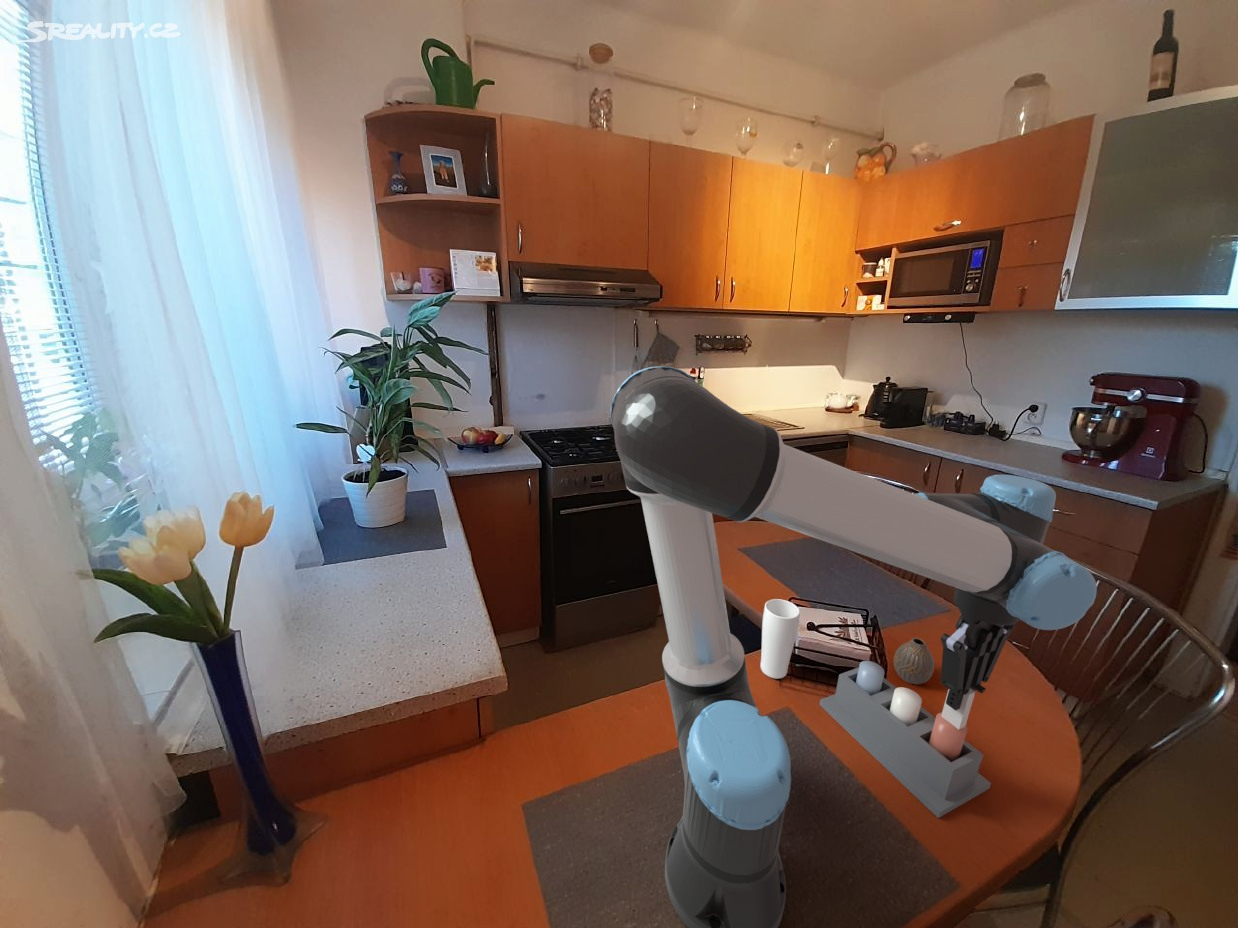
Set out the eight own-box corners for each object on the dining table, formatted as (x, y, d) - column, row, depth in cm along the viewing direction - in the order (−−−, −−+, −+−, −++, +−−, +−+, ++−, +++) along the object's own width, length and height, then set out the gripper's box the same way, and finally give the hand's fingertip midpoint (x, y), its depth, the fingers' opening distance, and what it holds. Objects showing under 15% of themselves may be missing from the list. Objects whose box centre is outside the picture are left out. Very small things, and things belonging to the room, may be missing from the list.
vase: (927, 695, 93) (937, 658, 91) (888, 679, 97) (896, 643, 94) (931, 675, 98) (941, 639, 96) (893, 660, 102) (902, 626, 100)
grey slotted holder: (938, 818, 70) (949, 782, 68) (819, 704, 90) (824, 674, 88) (989, 788, 75) (1000, 754, 73) (865, 686, 95) (871, 657, 93)
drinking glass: (795, 683, 95) (805, 619, 91) (761, 682, 96) (769, 618, 91) (784, 659, 102) (793, 598, 97) (752, 658, 102) (760, 597, 98)
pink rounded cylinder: (945, 772, 73) (956, 737, 71) (920, 751, 76) (930, 716, 74) (962, 763, 74) (973, 728, 72) (937, 743, 78) (947, 709, 76)
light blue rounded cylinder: (866, 711, 85) (873, 679, 83) (848, 695, 89) (854, 664, 87) (882, 704, 87) (889, 672, 85) (863, 689, 90) (870, 658, 88)
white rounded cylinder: (902, 742, 79) (910, 708, 77) (881, 723, 83) (888, 691, 81) (918, 734, 81) (927, 701, 79) (897, 716, 84) (905, 684, 82)
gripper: (991, 611, 60) (949, 755, 67) (1050, 590, 65) (1006, 726, 72) (933, 582, 67) (901, 716, 74) (991, 564, 72) (955, 691, 79)
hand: (953, 721), depth 73 cm, fingers closed
